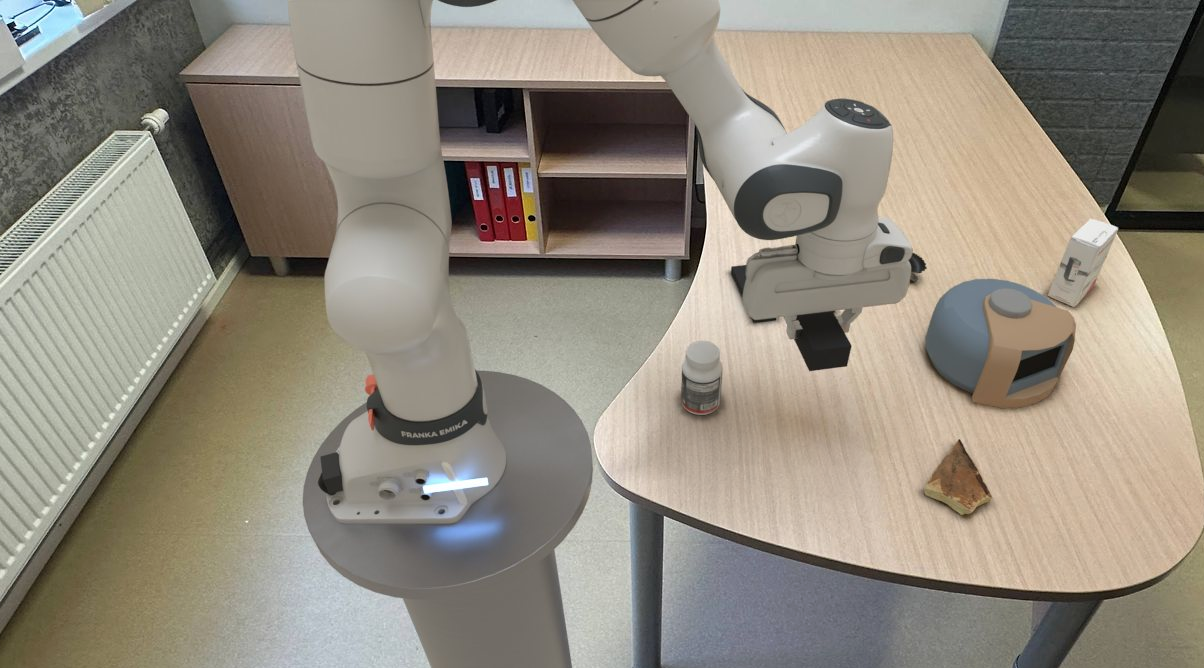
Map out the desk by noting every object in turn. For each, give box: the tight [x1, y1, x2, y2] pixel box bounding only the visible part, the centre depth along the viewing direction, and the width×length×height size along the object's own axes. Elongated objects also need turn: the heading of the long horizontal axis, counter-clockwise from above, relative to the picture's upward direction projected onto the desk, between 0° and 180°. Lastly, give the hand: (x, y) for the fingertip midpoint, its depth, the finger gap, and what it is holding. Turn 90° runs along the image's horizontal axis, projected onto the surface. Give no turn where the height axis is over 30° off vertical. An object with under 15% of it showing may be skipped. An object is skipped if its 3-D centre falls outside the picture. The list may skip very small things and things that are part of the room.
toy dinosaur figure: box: [908, 252, 928, 282], centre depth 135 cm, size 8×7×9 cm
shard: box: [924, 438, 993, 516], centre depth 103 cm, size 11×8×2 cm
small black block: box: [785, 311, 852, 372], centre depth 100 cm, size 5×10×4 cm, turn 11°
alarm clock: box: [924, 278, 1077, 409], centre depth 117 cm, size 19×20×12 cm
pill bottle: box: [680, 340, 724, 416], centre depth 111 cm, size 6×6×10 cm
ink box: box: [1047, 218, 1119, 308], centre depth 131 cm, size 9×5×12 cm, turn 137°
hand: (817, 333), depth 100 cm, fingers closed on small black block, 5 cm apart
